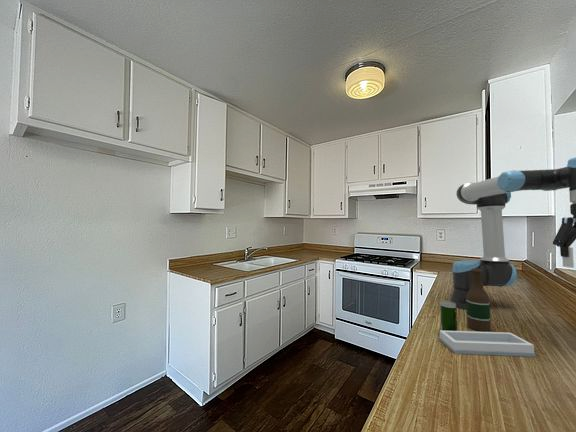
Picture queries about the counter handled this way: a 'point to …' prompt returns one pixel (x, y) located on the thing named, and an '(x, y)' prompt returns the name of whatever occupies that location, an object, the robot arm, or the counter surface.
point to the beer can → (448, 316)
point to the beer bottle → (478, 304)
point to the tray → (486, 343)
